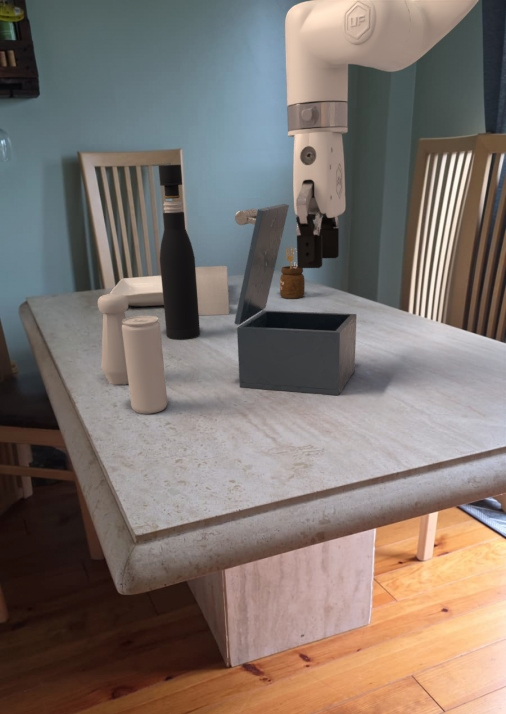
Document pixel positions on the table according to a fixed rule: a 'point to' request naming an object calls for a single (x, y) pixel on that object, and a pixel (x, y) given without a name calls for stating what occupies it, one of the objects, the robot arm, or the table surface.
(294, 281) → the utensil holder
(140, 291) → the square plate
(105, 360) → the salt shaker
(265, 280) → the bin lid
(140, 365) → the beverage can
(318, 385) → the bin
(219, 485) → the table surface
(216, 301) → the beige rectangular box
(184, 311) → the black water bottle
